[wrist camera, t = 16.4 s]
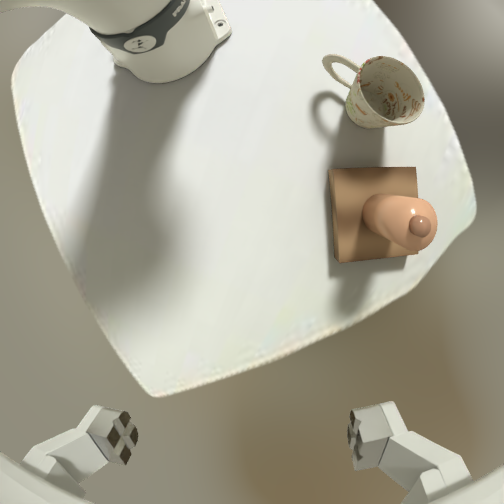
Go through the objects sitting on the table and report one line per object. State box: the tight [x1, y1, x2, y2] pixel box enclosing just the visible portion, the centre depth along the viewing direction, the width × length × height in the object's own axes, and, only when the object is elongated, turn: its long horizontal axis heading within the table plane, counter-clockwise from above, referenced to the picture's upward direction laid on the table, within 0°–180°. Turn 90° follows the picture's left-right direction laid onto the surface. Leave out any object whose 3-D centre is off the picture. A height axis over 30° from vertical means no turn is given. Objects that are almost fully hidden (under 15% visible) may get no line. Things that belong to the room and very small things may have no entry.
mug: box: [322, 54, 424, 129], centre depth 28 cm, size 8×13×10 cm, turn 56°
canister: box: [362, 193, 437, 251], centre depth 28 cm, size 5×5×11 cm
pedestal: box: [328, 167, 418, 263], centre depth 35 cm, size 12×12×3 cm
